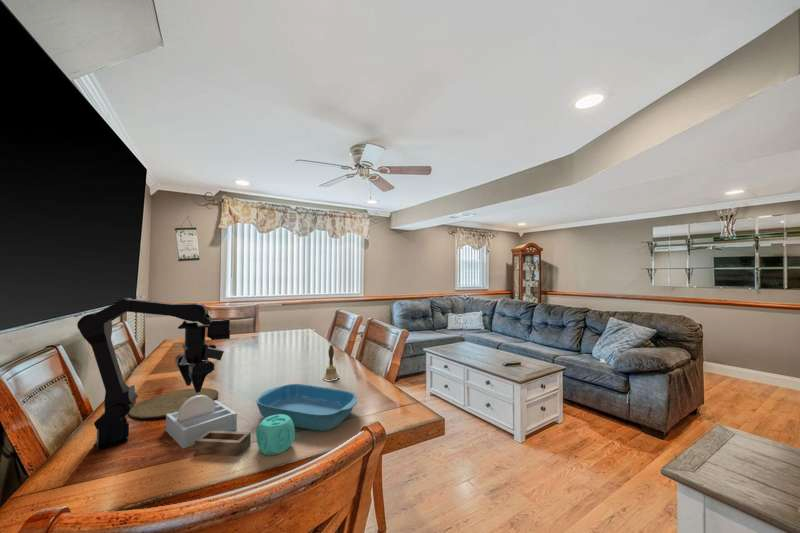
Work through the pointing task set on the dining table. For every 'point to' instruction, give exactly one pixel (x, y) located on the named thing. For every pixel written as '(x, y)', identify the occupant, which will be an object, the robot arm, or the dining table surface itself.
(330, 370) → the hand bell
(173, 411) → the decorative disc
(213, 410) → the plate
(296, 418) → the casserole dish
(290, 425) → the decorative dice
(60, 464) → the dining table surface
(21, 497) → the dining table surface
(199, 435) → the rack
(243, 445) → the stand
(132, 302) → the robot arm
